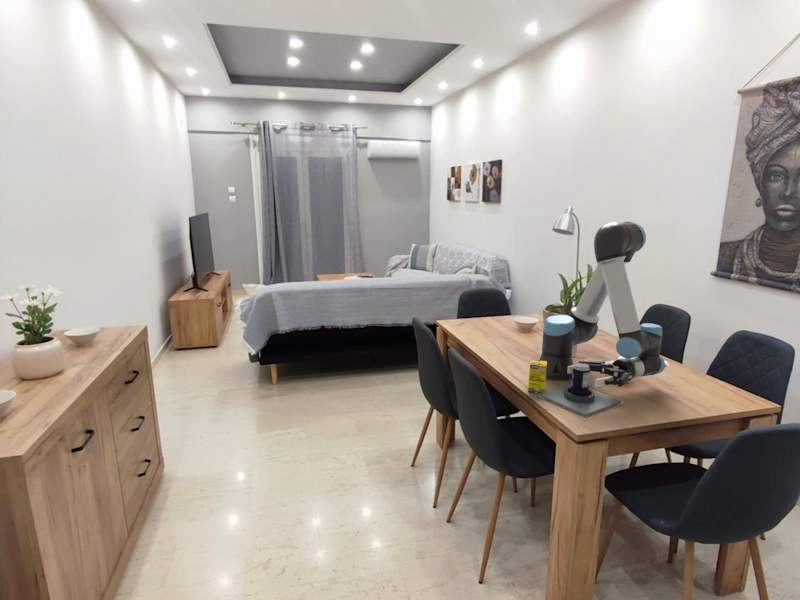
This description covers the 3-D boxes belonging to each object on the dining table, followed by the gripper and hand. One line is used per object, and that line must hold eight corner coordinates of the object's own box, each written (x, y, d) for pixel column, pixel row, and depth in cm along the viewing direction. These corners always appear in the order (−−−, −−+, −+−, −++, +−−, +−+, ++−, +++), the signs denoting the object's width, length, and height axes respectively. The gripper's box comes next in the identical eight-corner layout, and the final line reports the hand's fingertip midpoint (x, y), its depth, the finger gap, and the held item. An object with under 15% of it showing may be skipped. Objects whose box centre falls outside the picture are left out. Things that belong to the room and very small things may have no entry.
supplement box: (527, 392, 174) (529, 364, 171) (528, 386, 179) (530, 359, 177) (544, 394, 172) (546, 365, 170) (545, 388, 177) (547, 360, 175)
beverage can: (583, 393, 170) (586, 362, 167) (590, 400, 164) (593, 367, 162) (568, 394, 169) (570, 362, 167) (574, 400, 164) (577, 367, 161)
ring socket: (537, 396, 170) (538, 388, 169) (573, 385, 181) (574, 377, 180) (585, 417, 154) (585, 408, 153) (621, 403, 164) (622, 395, 163)
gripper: (655, 390, 162) (608, 399, 154) (600, 367, 184) (557, 374, 177) (658, 370, 160) (610, 378, 153) (602, 349, 183) (558, 355, 175)
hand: (581, 376), depth 165 cm, fingers open, 13 cm apart
